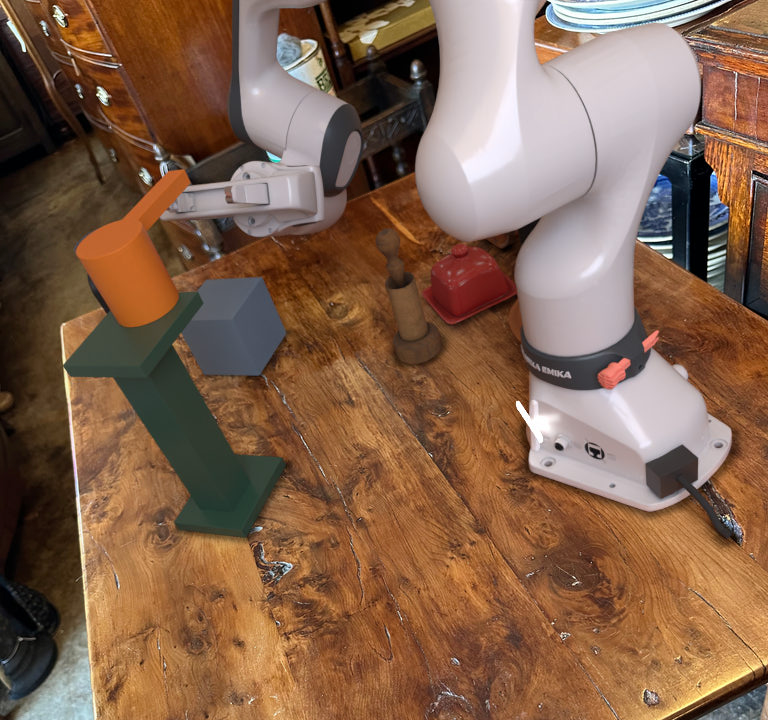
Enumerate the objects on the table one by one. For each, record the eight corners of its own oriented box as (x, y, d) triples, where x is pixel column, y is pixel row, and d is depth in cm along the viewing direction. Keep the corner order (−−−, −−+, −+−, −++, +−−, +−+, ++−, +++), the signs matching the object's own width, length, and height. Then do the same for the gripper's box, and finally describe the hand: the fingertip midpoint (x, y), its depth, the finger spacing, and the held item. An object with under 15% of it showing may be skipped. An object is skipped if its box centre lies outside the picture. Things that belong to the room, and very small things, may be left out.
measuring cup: (182, 237, 92) (150, 171, 86) (232, 233, 89) (202, 164, 83) (105, 328, 82) (62, 260, 76) (158, 327, 79) (117, 256, 73)
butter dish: (419, 298, 117) (405, 247, 111) (488, 266, 118) (478, 213, 112) (450, 334, 109) (437, 281, 103) (525, 299, 110) (516, 245, 104)
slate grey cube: (232, 333, 125) (206, 279, 118) (286, 333, 121) (262, 276, 114) (203, 375, 119) (173, 320, 112) (259, 375, 115) (231, 319, 108)
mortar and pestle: (438, 362, 106) (405, 242, 93) (392, 366, 108) (354, 250, 95) (445, 331, 110) (414, 213, 97) (401, 336, 112) (365, 221, 99)
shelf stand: (222, 460, 104) (123, 294, 86) (286, 465, 100) (198, 291, 82) (178, 530, 98) (61, 365, 79) (246, 538, 93) (139, 366, 75)
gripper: (193, 180, 103) (118, 176, 91) (331, 164, 94) (268, 157, 82) (200, 231, 105) (128, 234, 93) (336, 220, 96) (275, 221, 84)
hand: (195, 198), depth 88 cm, fingers open, 8 cm apart
